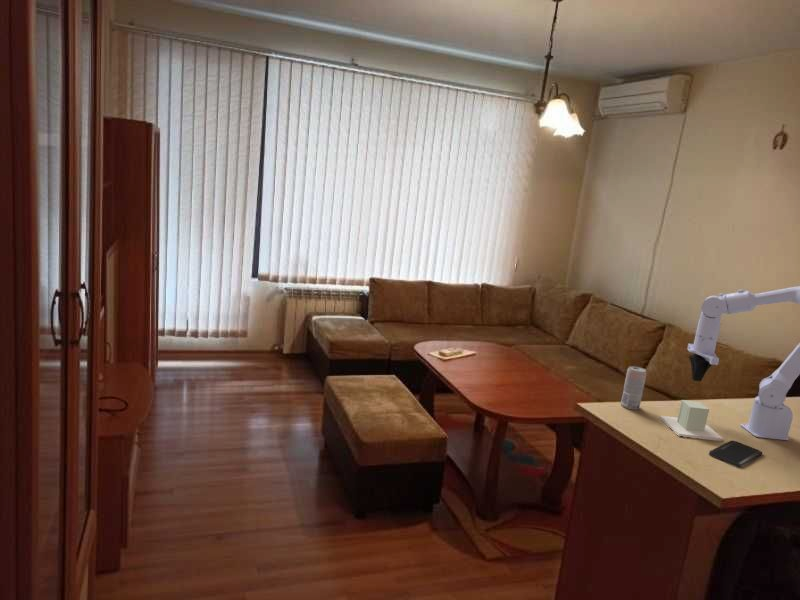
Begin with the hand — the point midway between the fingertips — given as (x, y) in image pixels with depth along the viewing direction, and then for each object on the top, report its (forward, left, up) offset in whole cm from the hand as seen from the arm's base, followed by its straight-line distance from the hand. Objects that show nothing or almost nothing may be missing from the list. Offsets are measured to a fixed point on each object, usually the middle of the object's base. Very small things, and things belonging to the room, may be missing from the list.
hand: (696, 380), depth 172 cm
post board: (+6, +13, -10) cm, 18 cm away
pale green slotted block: (+6, +13, -10) cm, 17 cm away
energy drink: (+18, 0, -11) cm, 21 cm away
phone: (+1, +27, -11) cm, 29 cm away
